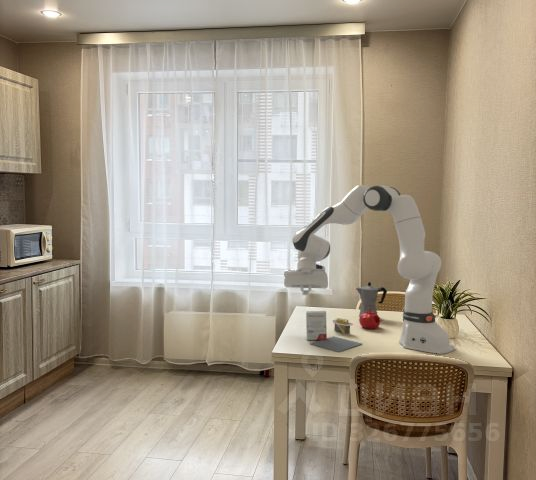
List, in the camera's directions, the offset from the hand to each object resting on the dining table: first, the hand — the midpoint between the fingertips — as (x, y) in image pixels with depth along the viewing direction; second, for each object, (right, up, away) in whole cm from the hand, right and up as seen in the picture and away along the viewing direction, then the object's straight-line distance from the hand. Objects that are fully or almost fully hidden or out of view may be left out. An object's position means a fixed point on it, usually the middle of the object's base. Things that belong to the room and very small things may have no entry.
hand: (305, 294), depth 250 cm
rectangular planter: (+16, -18, -1) cm, 24 cm away
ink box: (+4, -18, -13) cm, 23 cm away
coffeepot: (+35, -15, +28) cm, 47 cm away
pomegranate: (+31, -17, +8) cm, 36 cm away
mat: (+11, -19, -21) cm, 30 cm away
